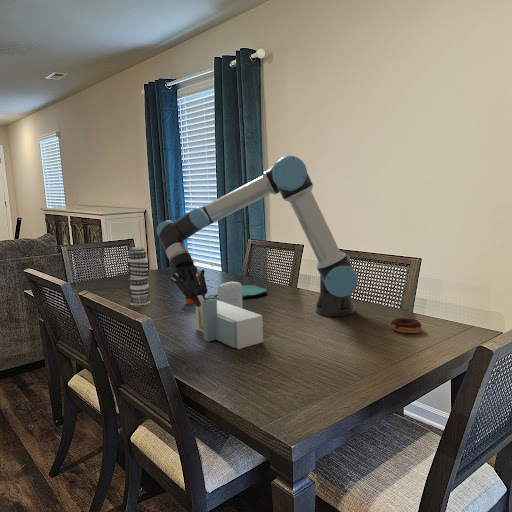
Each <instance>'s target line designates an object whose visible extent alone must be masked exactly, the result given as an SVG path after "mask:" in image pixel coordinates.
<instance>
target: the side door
mask: <svg viewBox="0 0 512 512" xmlns="http://www.w3.org/2000/svg"><path fill="white" fill-rule="evenodd" d="M217 301H218V299H215V298H214V299H213V298H210V299H208V300H203V301H202V306H203V330H204V333H203V340H204V341H205V342H211V341H215V340H217V341H218V342H220V343H223V344H225V345H227V346H229V347H230V348H235V347H236V340H235V322H234V321H231V320H229V319H226V318H224V317H221V316H219V315H217Z"/></svg>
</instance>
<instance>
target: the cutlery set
mask: <svg viewBox="0 0 512 512" xmlns="http://www.w3.org/2000/svg"><path fill="white" fill-rule="evenodd" d="M267 292H268V289H267V288H265V287H262V286H258V285H255V284H254V285H242V299H244V298H245V297H246V298H248V297H249V298H250V297H255V296H259V295H260V296H261V295H263V294H267ZM209 296H211V297H209ZM212 296H215V297H214V299H215V300H218V294H217V293H216V294H215V295H214V294H210V295H208V297H207V296H205V298H206V300H208V299H212Z"/></svg>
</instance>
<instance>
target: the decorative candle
mask: <svg viewBox="0 0 512 512" xmlns="http://www.w3.org/2000/svg"><path fill="white" fill-rule="evenodd" d="M127 253H128V260H127V261H126V262H127V264H126V267H127V274H128V278H129V281H130V282H129V283H130V284H129V286H130V287H129V299H130V300H129V301H130V306H132V305H144V306H146V305H145V304H148V303H150V304H151V298H150V297H151V294H149V293H151V292H150V287H149V283H148V282H149V281H148V278H149V277H150V274H149V270H148V269H149V262H148V259H147V250H146V249H145V248H144V247H141V246H136V247H135V246H134V247H130V248H129V250H128V251H127ZM148 305H149V304H148Z"/></svg>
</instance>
